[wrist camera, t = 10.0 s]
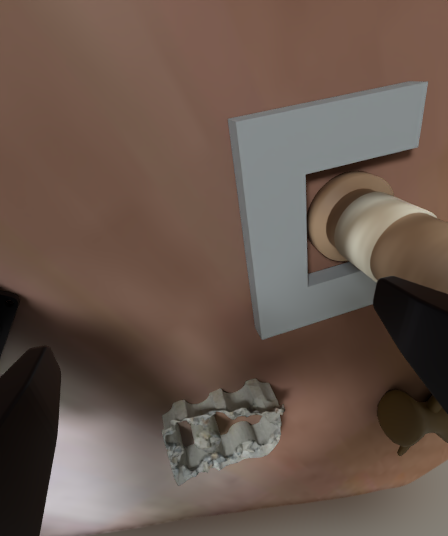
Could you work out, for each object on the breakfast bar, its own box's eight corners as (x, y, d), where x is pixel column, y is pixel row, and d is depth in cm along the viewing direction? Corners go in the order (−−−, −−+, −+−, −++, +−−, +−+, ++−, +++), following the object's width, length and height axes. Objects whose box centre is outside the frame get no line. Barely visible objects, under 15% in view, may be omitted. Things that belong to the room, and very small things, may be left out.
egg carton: (271, 369, 31) (291, 405, 28) (269, 421, 35) (286, 458, 32) (156, 399, 29) (162, 443, 25) (167, 451, 33) (174, 495, 29)
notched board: (255, 327, 28) (261, 339, 26) (227, 118, 19) (235, 121, 18) (383, 287, 30) (395, 296, 28) (409, 81, 21) (427, 81, 20)
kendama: (499, 305, 37) (409, 432, 45) (439, 294, 34) (352, 434, 41) (560, 340, 32) (446, 476, 39) (496, 331, 29) (385, 483, 36)
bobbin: (349, 264, 27) (502, 386, 16) (289, 236, 24) (429, 363, 14) (399, 193, 25) (612, 280, 14) (341, 154, 22) (552, 226, 12)
